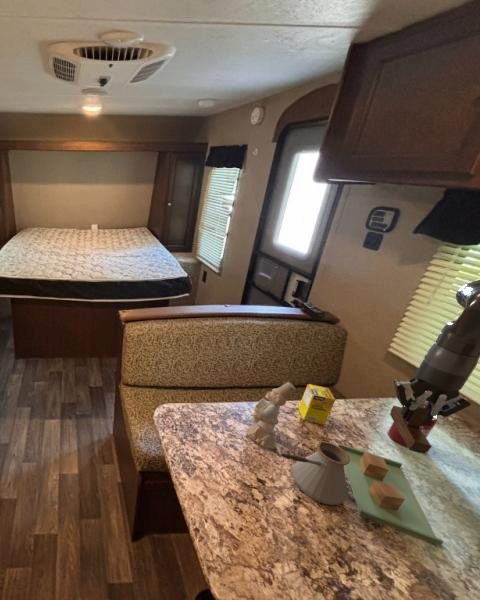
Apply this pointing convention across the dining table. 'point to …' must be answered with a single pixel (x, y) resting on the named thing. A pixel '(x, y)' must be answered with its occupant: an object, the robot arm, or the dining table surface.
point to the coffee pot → (322, 473)
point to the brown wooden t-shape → (412, 428)
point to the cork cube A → (373, 466)
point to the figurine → (268, 416)
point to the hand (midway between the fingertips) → (413, 421)
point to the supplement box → (316, 404)
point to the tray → (402, 519)
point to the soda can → (398, 438)
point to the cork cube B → (386, 495)
